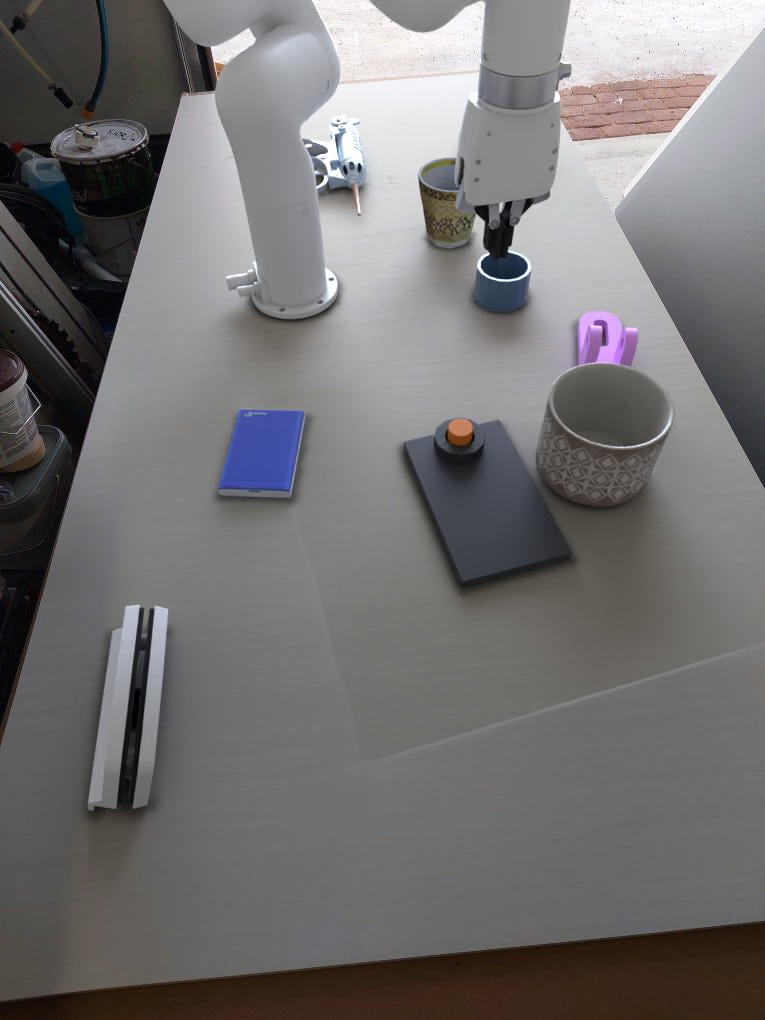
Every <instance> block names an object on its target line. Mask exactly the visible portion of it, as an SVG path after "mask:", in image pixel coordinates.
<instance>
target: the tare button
mask: <svg viewBox="0 0 765 1020" xmlns="http://www.w3.org/2000/svg"><path fill="white" fill-rule="evenodd" d="M465 419H466V418H465ZM465 419H455V420H453V421H451V422H450V424H449V426H448V441H449V442H450V443H451V444H452V445H454V446H459V447H462V446H466V445H468V444H469V443H470V442H471V440H472V434H473V426H472V424H471V423H470V422H469V421H468V420H465Z"/></svg>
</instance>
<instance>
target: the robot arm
mask: <svg viewBox="0 0 765 1020" xmlns="http://www.w3.org/2000/svg"><path fill="white" fill-rule="evenodd" d="M162 1H163V3H164V5H165V7H166V9H167V10H168V11H169V13H170V15H171V16H172V18H173V19H174V20H175V22H176V23H177V25H178V26H179V28H180V29H181V30H182V32H183V33H184V34H185V35H186V36H187V38H189V39H190V41H192V42H193V43H195V44H196V45H199V46H202V47H204V48H205V47H206V48H211V47H216V46H219V45H223V44H224V43H226V42H228V41H230V40H232V39H233V38H236V37H237V36H238V35H240V34H241V33H243V32H245V31H246V30H248V29H249V31H250V32H251V34H252V35H253V37H254V39H255V40H254V41H252V42H251V43H250V44H248V45H247V46H245V47H244V48H242V49H241V50H239V51H238V52H236V53H235V54H234V55H233V56H232V57H230V59H229V60H228V61H227V62H226V63H225V64H224V66H223V67H222V68H221V71H220V73H219V75H218V77H217V79H216V84H215V90H214V100H215V106H216V107H215V108H216V110H217V111H216V112H217V115H218V117H219V120H220V122H221V125H222V128H223V130H224V132H225V133H224V134H225V135H226V139H227V140H228V143H229V147H230V148H231V151H232V155H233V158H234V162H235V163H234V164H235V166H236V170H237V175H238V180H239V185H240V189H241V194H242V198H243V202H244V208H245V212H246V219H247V224H248V228H249V234H250V238H251V243H252V244H251V245H252V248H253V254H254V258H255V260H254V261H252V266H253V268H252V269H249V270H247V272H246V273H240V274H233V275H227V276H225V279H226V283H227V287H228V291H233V290H234V291H235V290H237V293H238V297H239V298H242V297H248V296H250V295H251V299H252V302H253V304H254V306H255V307H256V308H257V309H258V310H259V311H260V312H261V313H263V314H265V315H267V316H269V317H273V318H275V319H281V320H299V319H305V318H309V317H312V316H315V315H318V314H320V313H322V312H324V311H325V310H326V309H328V308H329V307H330V306H331V305H332V304H333V303H334V302H335V301H336V299H337V297H338V294H339V283H338V279H337V277H336V275H335V274H334V272H332V271H331V270H330V269H328V268H327V267H326V261H325V252H324V243H323V242H324V241H323V234H322V233H323V232H322V224H321V215H320V214H321V213H320V205H319V198H318V197H319V195H318V192H317V186H318V185H317V180H316V179H317V178H316V176H315V171H314V166H313V162H312V159H311V156H310V154H309V152H308V150H307V149H306V147H305V145H304V143H303V141H302V133H301V131H302V126H303V125H304V123H306V122H307V121H308V120H309V119H310V118H311V117H312V116H313V115H314V114H315V113H316V112H317V111H319V110H320V109H321V108H322V107H324V105H326V104H327V103H328V102H329V101H330V100H331V98H332V97H333V96H334V94H335V93H336V91H337V89H338V86H339V84H340V79H341V63H340V57H339V56H340V55H339V52H338V49H337V46H336V44H335V41H334V39H333V36H332V35H331V34H332V33H330V30H329V29H328V28H329V27H328V26H327V24H326V22H325V20H324V19H323V17H322V14H321V12H320V11H319V8H318V7H317V5H316V3H315V1H314V0H162ZM368 1H369V2H370V3H371V4H372V5H373V6H374V7H375V8H376V9H377V10H378V11H380V12H381V13H382V14H383V15H384V16H385V17H387V19H389V20H390V21H391V22H393V23H394V24H396V25H398V26H399V27H401V28H403V29H405V30H407V31H411V32H414V33H421V34H422V33H423V34H425V33H426V34H427V33H431V32H434V31H437V30H439V29H441V28H443V27H444V26H446V25H447V24H449V22H451V21H452V20H453V19H454V18H456V17H457V15H459V14H460V13H461V12H462V11H463V10H464V9H465V8H467V7H469V6H471V5H474V4H477V3H479V2H483V3H484V9H483V10H484V12H483V21H482V22H483V23H482V34H481V44H480V45H481V46H480V56H479V58H480V59H479V68H478V69H479V70H478V82H477V91H474V92H471V93H470V94H469V95H468V98H467V100H466V104H465V108H464V113H463V116H462V122H461V126H460V130H459V136H458V142H457V149H456V156H455V157H456V164H455V175H454V180H455V184H456V187H459V191H458V194H457V198H456V201H455V207H456V208H457V210H458V212H459V213H463V214H476V216H478V217H479V218H480V219H481V220H482V221H483V222H484V226H483V236H482V245H483V248H484V250H485V251H487V253H490V255H491V257H492V259H493V260H498V259H499V258H502V259H504V258H507V256H508V251H509V248H511V247H512V245H513V239H514V232H515V226H517V225H519V223H520V221H521V218H522V216H524V214H525V213H526V212H527V211H528V210H529V209H531V207H532V206H534V205H538V204H540V203H542V202H545V201H548V200H549V199H550V197H551V190H552V188H553V186H554V183H555V178H556V173H557V168H558V161H559V153H560V144H561V143H560V142H561V125H562V124H561V123H562V122H561V121H562V119H561V118H562V117H561V116H562V115H561V113H562V112H561V96H560V94H559V93H558V90H559V84H560V81H563V80H564V79H569V78H570V77H571V75H572V69H573V68H572V63H571V62H570V61H565V62H564V61H563V60H562V57H563V49H564V44H565V37H566V32H567V27H568V21H569V15H570V9H571V2H572V0H368ZM501 203H502V205H501V209H500V204H501Z"/></svg>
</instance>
